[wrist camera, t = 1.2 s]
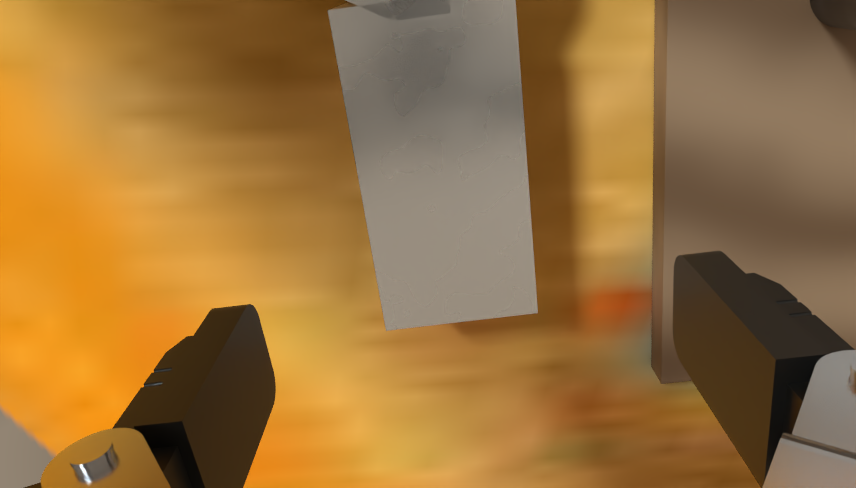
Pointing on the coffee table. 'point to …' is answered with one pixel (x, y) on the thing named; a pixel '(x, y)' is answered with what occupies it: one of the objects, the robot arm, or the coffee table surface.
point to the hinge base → (756, 152)
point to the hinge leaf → (440, 155)
